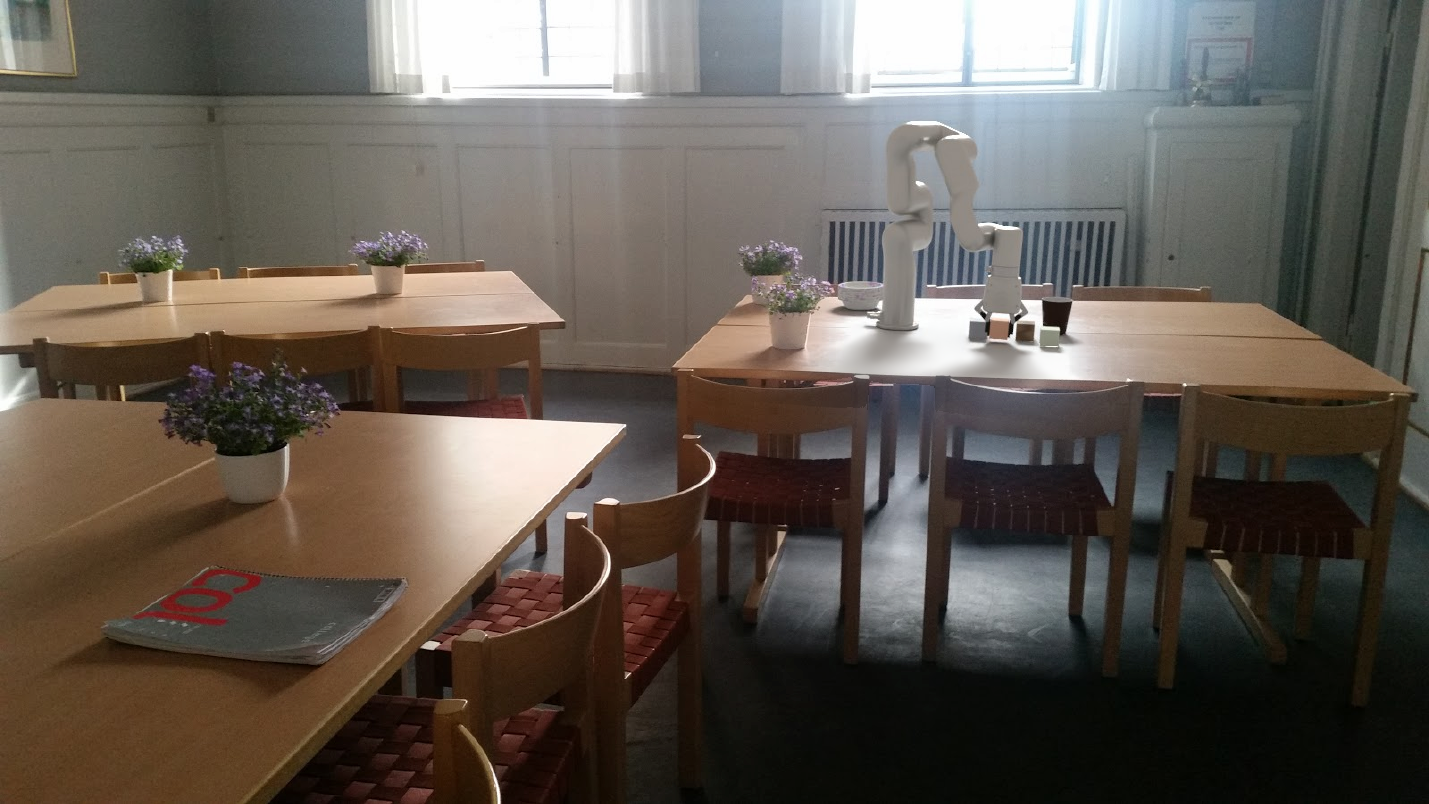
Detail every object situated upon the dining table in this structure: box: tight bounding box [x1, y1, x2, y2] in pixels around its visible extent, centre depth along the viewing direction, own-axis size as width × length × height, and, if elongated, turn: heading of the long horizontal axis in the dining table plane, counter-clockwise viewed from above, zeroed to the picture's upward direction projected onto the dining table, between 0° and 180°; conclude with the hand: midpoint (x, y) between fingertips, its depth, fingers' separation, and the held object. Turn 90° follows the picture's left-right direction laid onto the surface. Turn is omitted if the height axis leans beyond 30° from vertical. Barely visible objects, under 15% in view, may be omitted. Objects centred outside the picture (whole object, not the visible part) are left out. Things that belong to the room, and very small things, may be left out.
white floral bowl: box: [837, 281, 883, 311], centre depth 362 cm, size 15×15×8 cm
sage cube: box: [1039, 325, 1061, 348], centre depth 308 cm, size 5×5×5 cm
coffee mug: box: [1041, 296, 1074, 336], centre depth 325 cm, size 12×9×10 cm
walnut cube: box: [1015, 319, 1036, 342], centre depth 316 cm, size 5×5×5 cm
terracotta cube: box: [988, 316, 1010, 341], centre depth 311 cm, size 5×5×5 cm
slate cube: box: [968, 317, 988, 340], centre depth 319 cm, size 5×5×5 cm
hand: (998, 335), depth 311 cm, fingers closed on terracotta cube, 5 cm apart
